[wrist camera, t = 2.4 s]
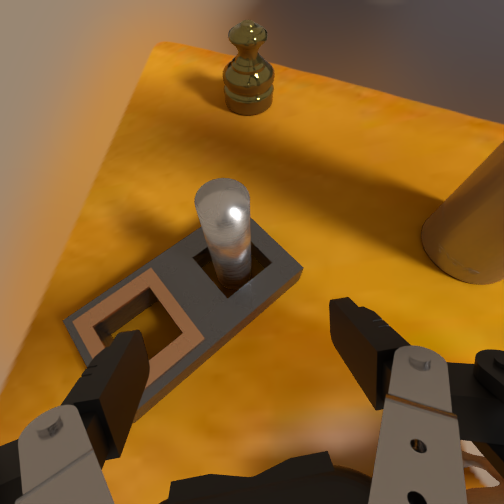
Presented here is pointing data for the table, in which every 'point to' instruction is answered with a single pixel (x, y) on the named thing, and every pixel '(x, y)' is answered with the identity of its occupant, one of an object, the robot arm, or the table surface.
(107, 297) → the block with square holes
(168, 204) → the table surface
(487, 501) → the lion figurine
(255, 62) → the bronze chess pawn
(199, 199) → the steel peg
